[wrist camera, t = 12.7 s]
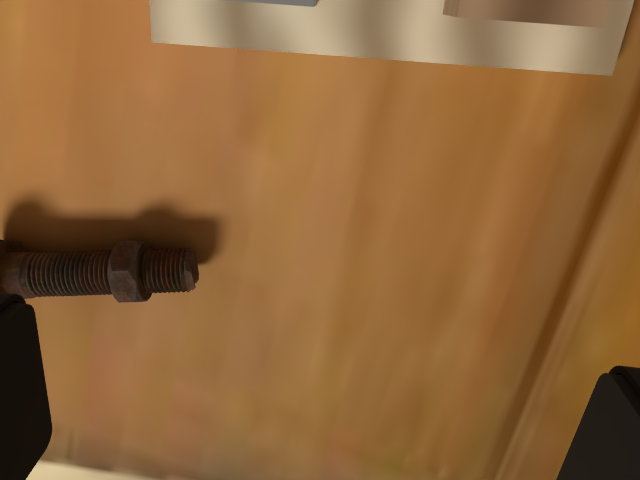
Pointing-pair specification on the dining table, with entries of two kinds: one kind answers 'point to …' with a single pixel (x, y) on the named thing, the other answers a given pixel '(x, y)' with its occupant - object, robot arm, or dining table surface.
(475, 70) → the dining table surface
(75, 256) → the bolt
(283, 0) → the gray square socket
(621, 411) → the robot arm
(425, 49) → the socket board
